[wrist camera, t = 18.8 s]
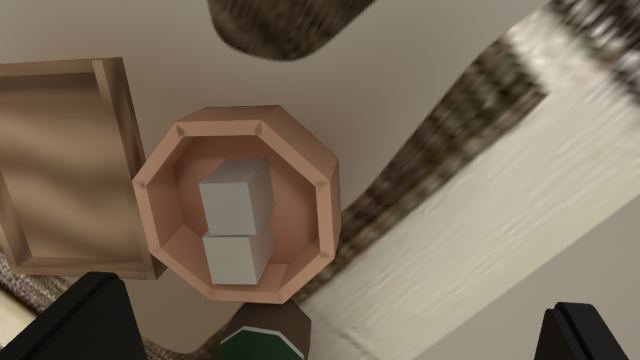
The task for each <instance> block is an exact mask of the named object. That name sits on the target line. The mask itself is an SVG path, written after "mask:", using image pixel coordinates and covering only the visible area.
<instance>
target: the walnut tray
mask: <svg viewBox="0 0 640 360" xmlns="http://www.w3.org/2000/svg"><path fill="white" fill-rule="evenodd" d="M145 162H146V159H145V155H144V151H143V147H142V142H141V138H140V133H139V129H138V125H137V120H136V116H135V112H134V108H133V103H132V98H131V94H130V90H129V85H128V81H127V77H126V73H125V68H124V64H123V59H122V57H113V58H96V59H78V60H61V61H43V62H26V63H25V62H24V63H7V64H0V243H1V245H2V248H3V250H4V253H5V255H6V258H7V260H8V263H9V265H10V268H11V270H12V273H13V274H29V275H51V276H73V277H82V276H83V275H84V274H86V273H87V272H90V271H99V272H113V273H116V274H117V275H118V276H119V278H120V279H140V280H157V279H158V278H159V277H160V276H161V275H162V273H163V272H164V271H165V270H166V269H167V268H168V267H167V266H166V265H165V264H164V263H162V262H161V261H160V260H158V259H157V258H156V257H155V256H153V255H152V254H151V253H150V252H149V248H148V244H147V240H146V236H145V232H144V227H143V223H142V219H141V215H140V211H139V207H138V203H137V199H136V195H135V191H134V187H133V183H132V180H133V179H134V178H135V176H136V175H137V173H138V172H139V171H140V169H141V168H142V167H143V165H144V164H145Z"/></svg>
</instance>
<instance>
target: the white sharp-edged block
mask: <svg viewBox="0 0 640 360" xmlns="http://www.w3.org/2000/svg"><path fill="white" fill-rule="evenodd" d="M202 239H203V243H204V248H205V252H206V256H207V261H208V265H209V270H210V274H211V279H212V283H213V284H250V285H257V283H258V281H259V279H260V277H261V275H262V273H263V271H264V269H265V267H266V265H267V263H268V261H269V259H270V257H271V255H272V253H273V251H274V244H273V238H272V231H271V225H270V218H269V215H268V217H267V219H266V220H265V222H264V224H263V225H262V227H261V229H260V230H259V232H258V234H257V235H218V236H210V233H209V230H208V231H207V232H206V234H205V235H204V236H203V237H202Z"/></svg>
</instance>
